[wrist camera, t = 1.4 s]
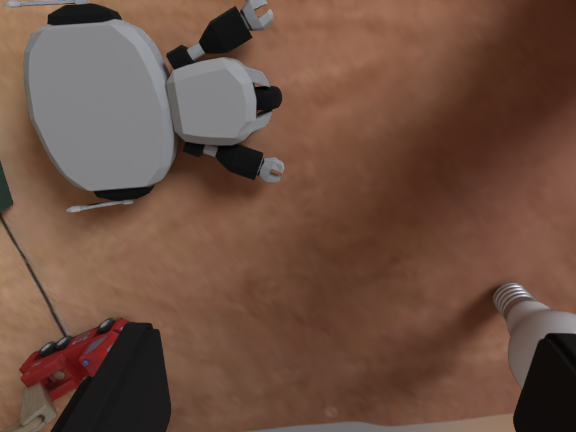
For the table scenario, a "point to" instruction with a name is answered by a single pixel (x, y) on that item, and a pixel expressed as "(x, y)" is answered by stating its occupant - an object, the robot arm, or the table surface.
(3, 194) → the rail
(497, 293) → the lightbulb
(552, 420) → the robot arm
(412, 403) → the table surface
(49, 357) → the toy fire truck
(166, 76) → the robot toy
